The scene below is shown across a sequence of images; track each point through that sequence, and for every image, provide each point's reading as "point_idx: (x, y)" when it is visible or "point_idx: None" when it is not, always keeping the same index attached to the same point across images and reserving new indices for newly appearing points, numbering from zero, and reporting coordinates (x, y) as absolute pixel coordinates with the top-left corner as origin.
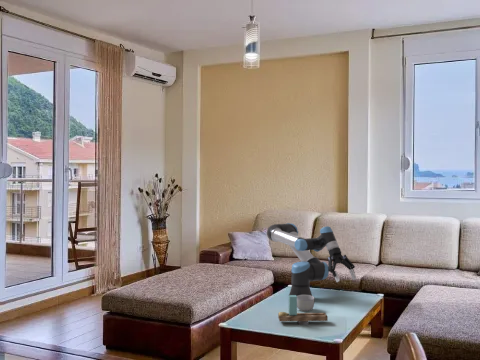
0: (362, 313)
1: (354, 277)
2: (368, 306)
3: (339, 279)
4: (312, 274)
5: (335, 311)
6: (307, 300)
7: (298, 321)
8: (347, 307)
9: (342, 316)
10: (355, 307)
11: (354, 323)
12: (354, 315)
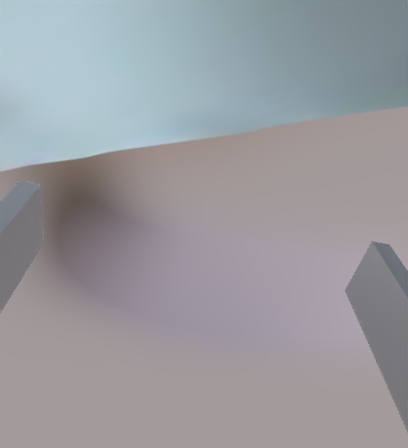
0: (163, 137)
1: (357, 294)
2: (355, 105)
3: (33, 251)
4: None
5: (15, 8)
6: None
7: None
8: (205, 11)
9: (6, 97)
10: (258, 57)
11: (11, 165)
12: (91, 127)
